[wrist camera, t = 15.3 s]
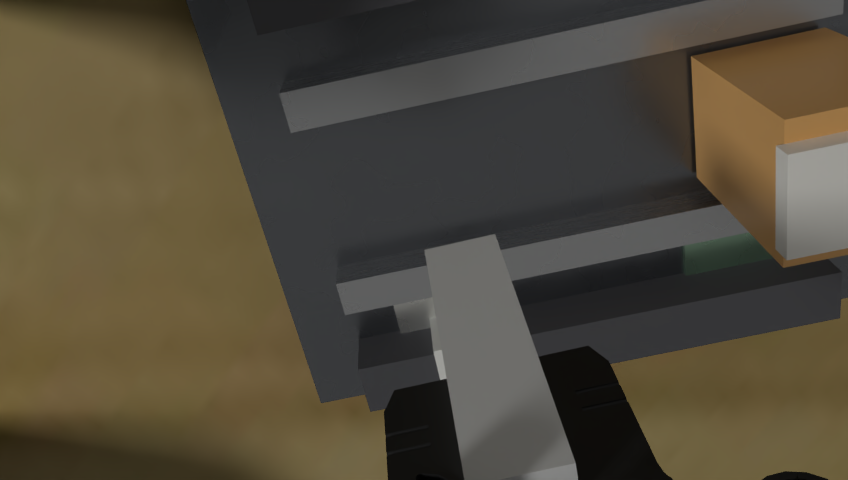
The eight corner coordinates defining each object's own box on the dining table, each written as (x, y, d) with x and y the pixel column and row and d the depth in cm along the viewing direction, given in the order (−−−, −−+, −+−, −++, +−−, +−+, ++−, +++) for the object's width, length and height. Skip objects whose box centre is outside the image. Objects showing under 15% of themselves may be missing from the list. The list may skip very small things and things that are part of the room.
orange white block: (684, 57, 23) (788, 130, 18) (831, 26, 23) (986, 88, 17) (690, 178, 25) (786, 281, 19) (827, 150, 25) (965, 245, 19)
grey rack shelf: (242, -59, 21) (229, -49, 20) (827, -191, 21) (874, -195, 19) (373, 388, 29) (373, 428, 27) (812, 299, 28) (845, 334, 26)
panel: (181, -57, 23) (158, -45, 20) (871, -214, 22) (932, -221, 20) (323, 377, 30) (319, 424, 28) (846, 272, 29) (888, 311, 27)
